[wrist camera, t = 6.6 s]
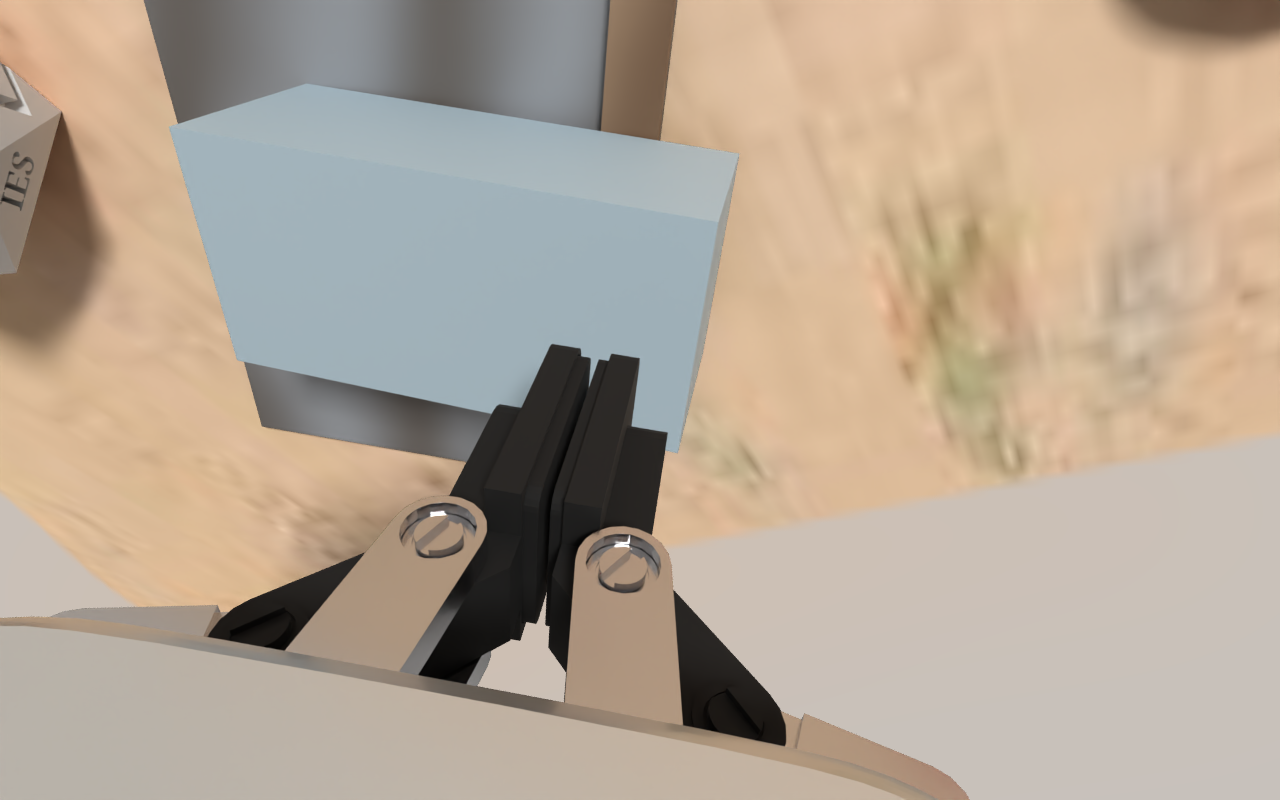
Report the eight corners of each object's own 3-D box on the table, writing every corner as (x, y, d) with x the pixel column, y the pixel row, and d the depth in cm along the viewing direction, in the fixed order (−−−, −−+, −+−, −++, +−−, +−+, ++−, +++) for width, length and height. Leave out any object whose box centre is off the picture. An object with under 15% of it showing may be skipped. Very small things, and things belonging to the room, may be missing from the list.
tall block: (718, 222, 13) (168, 126, 15) (677, 453, 17) (237, 360, 18) (739, 153, 17) (306, 83, 19) (703, 351, 21) (340, 281, 22)
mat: (703, -210, 14) (700, -218, 14) (618, 480, 26) (614, 498, 25) (76, -290, 15) (38, -302, 14) (267, 420, 27) (252, 435, 26)
